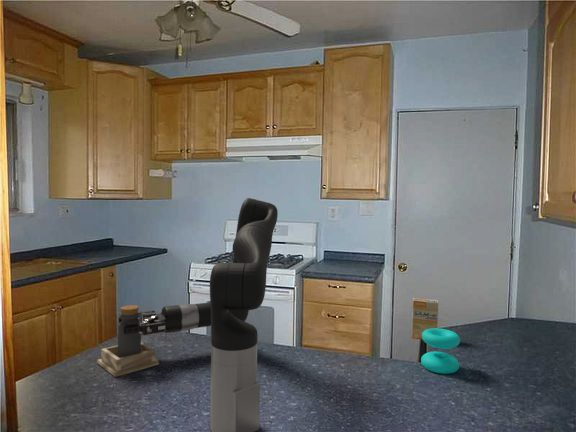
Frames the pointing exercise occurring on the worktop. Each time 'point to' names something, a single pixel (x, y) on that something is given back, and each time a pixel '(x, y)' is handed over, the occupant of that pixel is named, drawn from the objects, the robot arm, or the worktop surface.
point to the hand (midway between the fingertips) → (120, 325)
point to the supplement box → (423, 316)
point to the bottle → (131, 341)
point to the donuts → (440, 360)
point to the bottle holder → (127, 360)
